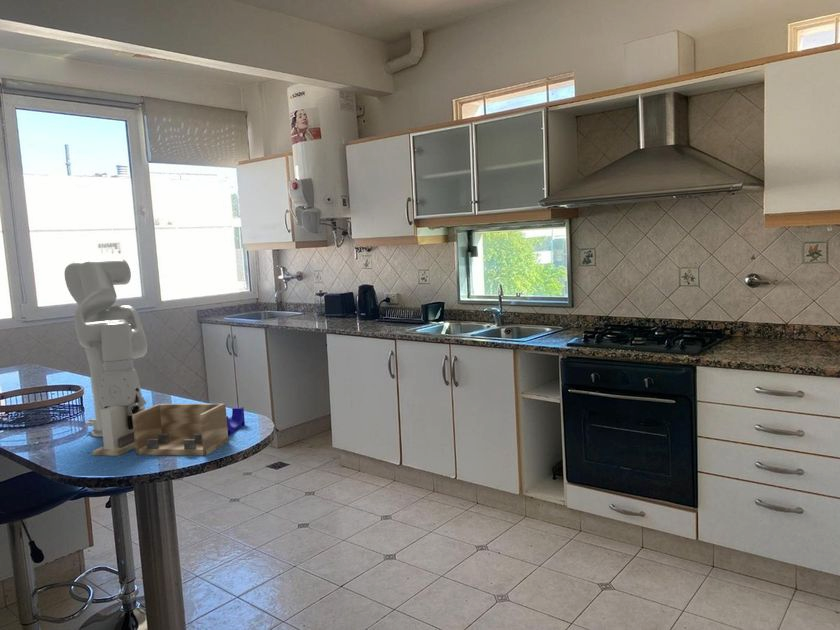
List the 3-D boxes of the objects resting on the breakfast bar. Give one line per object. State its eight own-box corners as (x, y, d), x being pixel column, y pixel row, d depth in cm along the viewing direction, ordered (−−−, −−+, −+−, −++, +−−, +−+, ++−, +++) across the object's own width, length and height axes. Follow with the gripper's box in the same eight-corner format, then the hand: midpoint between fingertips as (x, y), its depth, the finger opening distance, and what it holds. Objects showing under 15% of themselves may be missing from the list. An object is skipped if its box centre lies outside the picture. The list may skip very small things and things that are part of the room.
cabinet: (136, 454, 172) (132, 414, 171) (161, 441, 184) (158, 404, 183) (206, 455, 168) (203, 414, 167) (228, 441, 180) (225, 403, 179)
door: (116, 449, 174) (112, 410, 173) (104, 449, 174) (100, 410, 173) (149, 433, 188) (145, 397, 187) (138, 433, 189) (134, 397, 188)
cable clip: (231, 426, 197) (229, 407, 197) (245, 426, 196) (243, 407, 196) (213, 437, 185) (211, 417, 185) (227, 437, 185) (225, 417, 184)
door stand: (92, 455, 174) (91, 442, 173) (134, 436, 191) (132, 424, 191) (118, 455, 172) (117, 442, 172) (158, 436, 190) (156, 424, 189)
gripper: (83, 368, 177) (90, 432, 179) (137, 367, 174) (143, 432, 176) (101, 363, 185) (107, 424, 186) (153, 362, 181) (159, 424, 183)
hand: (125, 427), depth 181 cm, fingers open, 4 cm apart
